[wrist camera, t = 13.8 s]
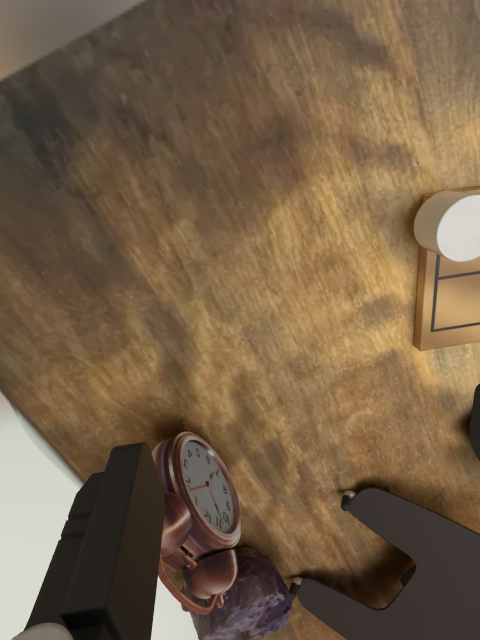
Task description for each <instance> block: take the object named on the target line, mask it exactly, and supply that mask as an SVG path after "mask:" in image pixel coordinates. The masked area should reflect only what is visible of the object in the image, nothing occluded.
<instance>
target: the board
mask: <svg viewBox="0 0 480 640" xmlns="http://www.w3.org/2000/svg"><path fill="white" fill-rule="evenodd" d="M452 191H459V192H466V193H472V194H479V195H480V186H476V187H470V188H463V189H456V190H452ZM437 193H439V192H436V193H429V194H424V196H423V204H424V202H425V201H426V200H428V199H429V198H430V197H432V196H433V195H435V194H437ZM475 342H480V256H479V257H477V258H475V259H473V260H470V261H465V262H456V261H452V260H449V259H447V258H445V257H442V256H440V255H438V254H435V253H433V252H431V251H429V250H426V249H425V248H423V247H422V246H421V245H420V258H419V273H418V289H417V304H416V320H415V335H414V346H415V347H416V348H417V349H418V350H419V351H424V350H431V349H437V348H443V347H449V346H456V345H462V344H468V343H475Z"/></svg>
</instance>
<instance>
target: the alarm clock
mask: <svg viewBox="0 0 480 640" xmlns="http://www.w3.org/2000/svg"><path fill="white" fill-rule="evenodd" d="M182 425H183V428H184V432H182V433H180V434H177V435H175V436H173V437H171V438H169V439H166V440H164V439H161V440H160V443H159V444H158V445H156V446H155V447H154V448H152V449H151V453H152V456H153V459H154V462H155V466H156V469H157V472H158V475H159V478H160V481H161V484H162V488H163V492H164V500H165V516H164V525H163V534H162V543H161V552H160V561H159V570H158V575H159V577H160V580H161V581H162V583H163V584H164V585H165V586H166V588H167V589H168V590H169V591H170V592H171V594H172V595H173V596H174V597H175V598H176V599H177V600H178V601H179V602H180V603H182V604H183V605H184V606H186V607H187V608H188V609H190V610H191V611H194V612H196V613H199V614H203V615H206V614H209V613H210V612H211V611H212V609H213V607H214V604H215V605H216V606H217V607H218V608H221V607H222V606H223V602H224V600H223V597H222V596H224V595H225V594H226V592H225V591H227V590H228V589H229V588H230V587H231V586H232V585H233V583H234V581H235V580H236V577H237V573H238V565H237V558H236V554H235V550H230V549H231V548H232V547H234V546H235V545H236V544H237V543H238V541H239V539H240V536H241V531H242V519H241V508H240V502H239V498H238V495H237V491H236V488H235V486H234V483H233V481H232V478H231V476H230V474H229V472H228V470H227V468H226V466H225V465H224V464H225V463H224V462H223V461H222V460H221V458H220V457H219V455H218V454H217V453H216V452H215V450H214V449H213V448H212V447H211V446H210V445H209V444H208V443H207V442H206V441H205V440H203V439H202V438H201V437H200V436H198V435H196V434H194V433H192V432H190V431H189V429H188V427H187V422H186V421H183V422H182ZM163 561H164V562H165V563H167V564H168V565H170V566H171V567H173V568H175V569H177V570H181V571H183V572H182V575H183V578H184V581H185V583H186V585H187V588H188V589H189V591H190V593H191V594H192V595H194V596H195V597H197V598H200V599H208V598H210V600H209V602H208V604H207V607H204V606H201V605H198V604H197V603H195V602H193V601H192V600H191V599H189V598H188V597H187V596H185V595H184V594H183V593H182V592H181V591H180V590H179V589H178V588H177V587H176V586H175V585H174V583H173V582H172V581H171V580H170V578H169V577H168V576H167V574H166V572H165V569H164V565H163Z"/></svg>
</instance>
